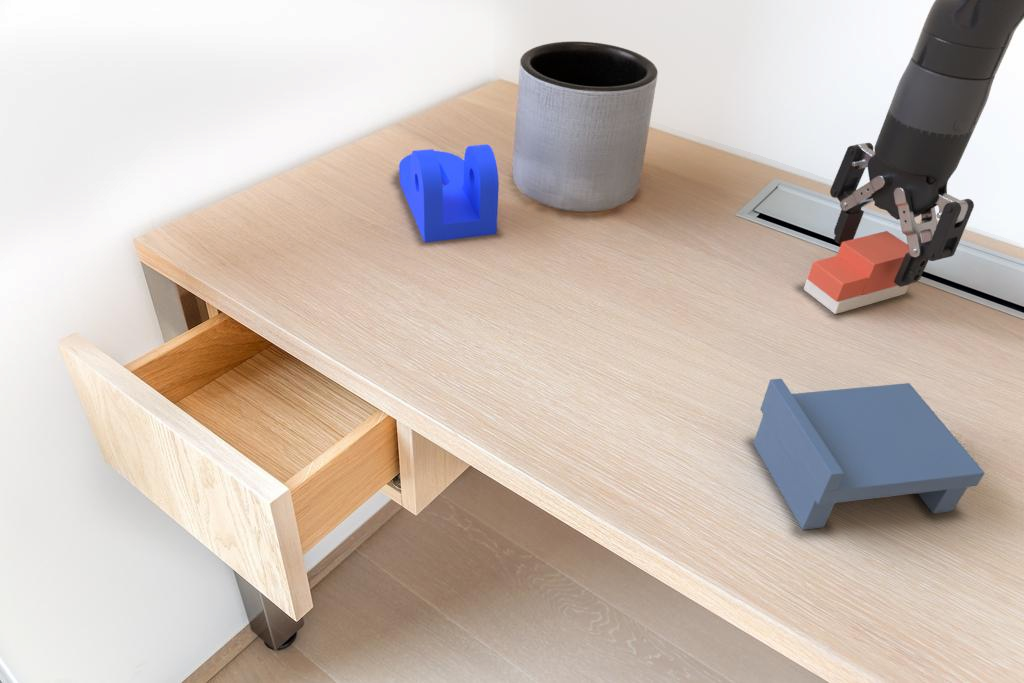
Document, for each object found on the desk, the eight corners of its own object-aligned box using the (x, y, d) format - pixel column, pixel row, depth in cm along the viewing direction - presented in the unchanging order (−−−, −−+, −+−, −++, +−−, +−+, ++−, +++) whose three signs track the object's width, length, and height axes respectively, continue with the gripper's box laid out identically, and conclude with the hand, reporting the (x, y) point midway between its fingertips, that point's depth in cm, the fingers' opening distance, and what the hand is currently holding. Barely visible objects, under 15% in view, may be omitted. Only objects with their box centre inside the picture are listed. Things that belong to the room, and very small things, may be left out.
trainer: (872, 270, 89) (888, 229, 85) (905, 294, 85) (923, 252, 82) (801, 289, 85) (816, 247, 82) (833, 314, 82) (850, 271, 78)
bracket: (496, 234, 90) (499, 161, 85) (424, 242, 88) (423, 168, 83) (457, 163, 104) (458, 96, 98) (393, 169, 101) (391, 100, 96)
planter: (504, 157, 106) (511, 38, 96) (622, 157, 108) (640, 40, 98) (520, 219, 93) (528, 89, 83) (652, 217, 95) (676, 90, 85)
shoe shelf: (888, 425, 69) (917, 366, 65) (958, 516, 62) (996, 456, 57) (749, 439, 67) (769, 379, 63) (803, 535, 59) (831, 474, 55)
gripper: (1027, 141, 70) (951, 291, 80) (903, 81, 80) (849, 223, 90) (968, 152, 67) (897, 307, 77) (847, 89, 77) (798, 234, 87)
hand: (871, 261), depth 83 cm, fingers open, 8 cm apart
